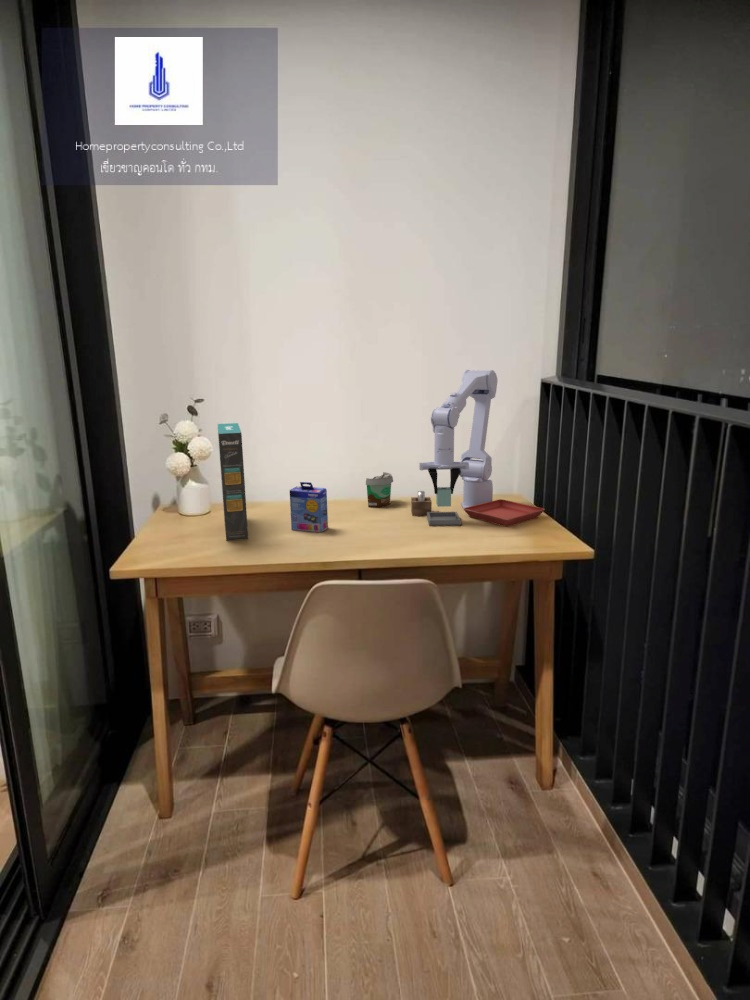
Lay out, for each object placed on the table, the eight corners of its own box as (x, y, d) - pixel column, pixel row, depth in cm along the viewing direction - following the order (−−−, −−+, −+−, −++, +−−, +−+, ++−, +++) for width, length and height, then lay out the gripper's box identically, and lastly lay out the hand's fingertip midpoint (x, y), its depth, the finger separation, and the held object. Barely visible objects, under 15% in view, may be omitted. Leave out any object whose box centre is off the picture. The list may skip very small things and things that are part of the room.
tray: (456, 517, 198) (456, 511, 197) (460, 525, 189) (460, 519, 188) (426, 517, 198) (427, 512, 197) (429, 526, 189) (429, 520, 189)
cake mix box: (224, 520, 198) (217, 423, 191) (244, 518, 200) (237, 423, 193) (226, 540, 178) (218, 433, 171) (248, 538, 179) (241, 432, 172)
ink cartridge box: (290, 530, 187) (287, 482, 183) (298, 525, 192) (296, 478, 188) (321, 533, 184) (319, 484, 180) (328, 527, 189) (327, 479, 185)
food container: (382, 510, 207) (381, 480, 205) (365, 508, 210) (365, 478, 208) (399, 502, 218) (399, 473, 215) (384, 500, 221) (383, 471, 218)
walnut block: (429, 510, 206) (430, 497, 205) (431, 515, 200) (431, 501, 199) (411, 510, 206) (411, 497, 205) (412, 515, 200) (412, 501, 199)
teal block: (449, 503, 194) (449, 486, 193) (450, 506, 190) (451, 489, 189) (436, 503, 194) (436, 486, 193) (437, 506, 190) (437, 490, 189)
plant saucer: (461, 517, 199) (461, 507, 198) (500, 508, 210) (500, 498, 209) (506, 530, 185) (507, 519, 184) (545, 519, 196) (546, 509, 195)
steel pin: (424, 512, 204) (424, 491, 202) (424, 514, 202) (424, 492, 200) (417, 512, 204) (417, 491, 203) (417, 514, 202) (417, 492, 201)
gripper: (420, 450, 184) (420, 496, 187) (470, 450, 184) (469, 496, 187) (418, 447, 191) (418, 491, 194) (467, 446, 191) (466, 490, 194)
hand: (443, 493), depth 191 cm, fingers closed on teal block, 4 cm apart
